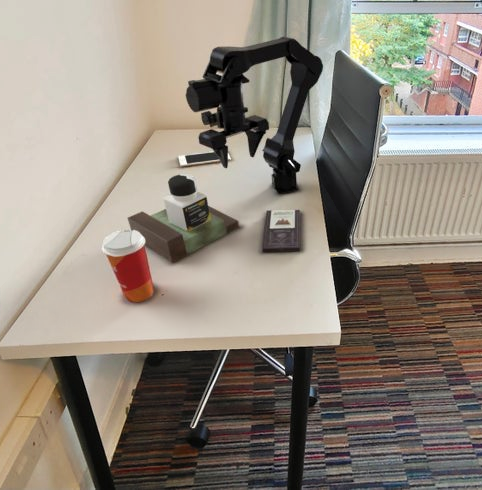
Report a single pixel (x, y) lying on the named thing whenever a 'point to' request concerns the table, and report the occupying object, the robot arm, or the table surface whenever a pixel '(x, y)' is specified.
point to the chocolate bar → (282, 231)
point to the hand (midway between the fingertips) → (239, 162)
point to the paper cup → (129, 264)
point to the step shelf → (179, 233)
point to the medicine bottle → (186, 203)
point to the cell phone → (199, 158)
